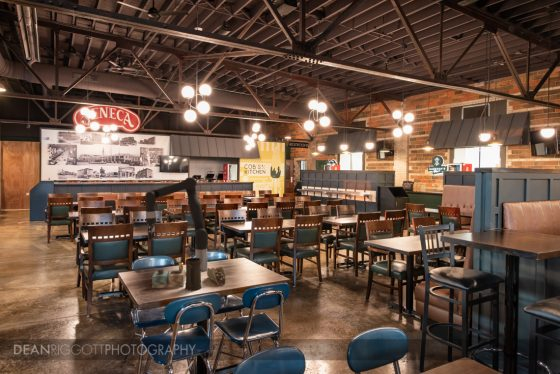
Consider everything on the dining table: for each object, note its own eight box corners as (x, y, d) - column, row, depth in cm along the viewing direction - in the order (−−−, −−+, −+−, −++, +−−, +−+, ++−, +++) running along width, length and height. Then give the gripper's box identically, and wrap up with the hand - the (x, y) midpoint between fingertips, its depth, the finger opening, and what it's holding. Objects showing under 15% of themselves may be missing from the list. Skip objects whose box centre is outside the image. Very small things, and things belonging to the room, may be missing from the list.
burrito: (215, 287, 250) (215, 272, 249) (204, 278, 274) (204, 264, 273) (228, 285, 254) (228, 270, 254) (216, 276, 278) (216, 263, 278)
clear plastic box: (185, 281, 264) (184, 265, 264) (183, 286, 250) (182, 270, 250) (155, 282, 261) (155, 267, 261) (152, 288, 247) (152, 271, 247)
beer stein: (186, 285, 253) (186, 257, 251) (202, 285, 253) (202, 256, 252) (182, 294, 237) (182, 263, 235) (199, 293, 238) (199, 263, 236)
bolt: (183, 271, 258) (183, 262, 258) (182, 272, 256) (182, 263, 255) (170, 272, 257) (170, 262, 257) (170, 273, 254) (170, 263, 254)
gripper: (154, 218, 276) (154, 239, 276) (157, 216, 290) (158, 236, 290) (143, 218, 275) (144, 240, 275) (147, 216, 289) (148, 237, 289)
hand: (151, 238), depth 283 cm, fingers open, 8 cm apart
